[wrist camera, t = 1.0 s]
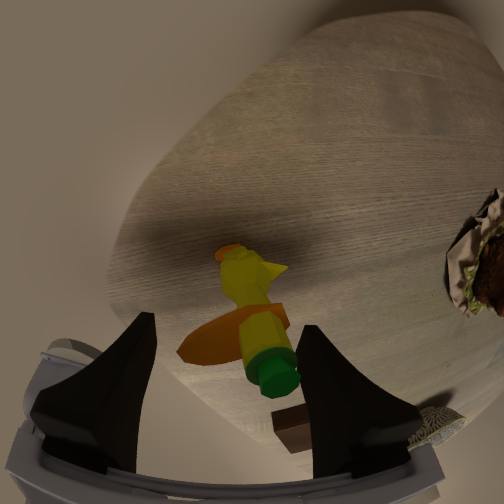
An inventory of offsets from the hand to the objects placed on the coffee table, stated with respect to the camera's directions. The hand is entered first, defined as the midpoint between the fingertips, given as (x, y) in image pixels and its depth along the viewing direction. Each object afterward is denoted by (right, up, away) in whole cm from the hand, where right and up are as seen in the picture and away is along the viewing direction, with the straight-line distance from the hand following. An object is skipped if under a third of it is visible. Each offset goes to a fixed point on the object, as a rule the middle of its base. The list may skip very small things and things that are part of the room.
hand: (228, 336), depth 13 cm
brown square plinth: (+8, -19, +20) cm, 29 cm away
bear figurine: (+28, +3, +10) cm, 30 cm away
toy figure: (-1, +4, +7) cm, 8 cm away
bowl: (+34, -28, +26) cm, 51 cm away
